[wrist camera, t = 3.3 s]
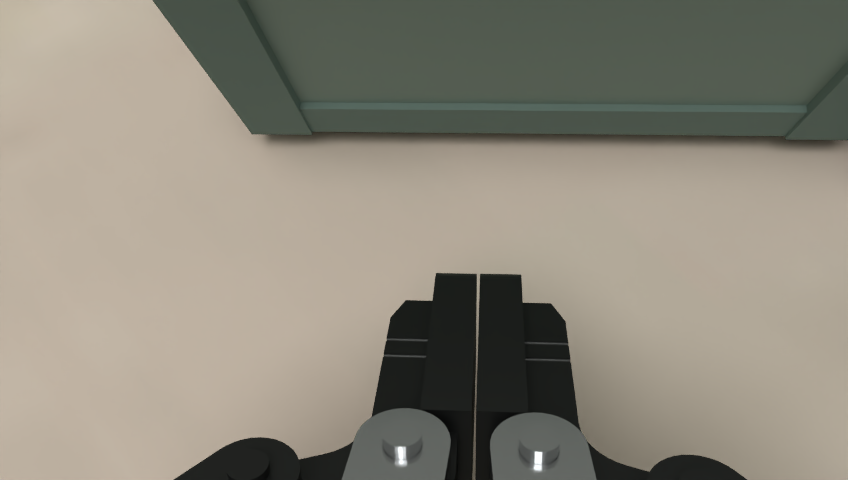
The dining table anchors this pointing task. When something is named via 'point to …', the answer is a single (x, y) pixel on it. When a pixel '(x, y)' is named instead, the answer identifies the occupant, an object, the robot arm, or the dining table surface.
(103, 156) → the dining table surface
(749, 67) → the green rectangular panel
